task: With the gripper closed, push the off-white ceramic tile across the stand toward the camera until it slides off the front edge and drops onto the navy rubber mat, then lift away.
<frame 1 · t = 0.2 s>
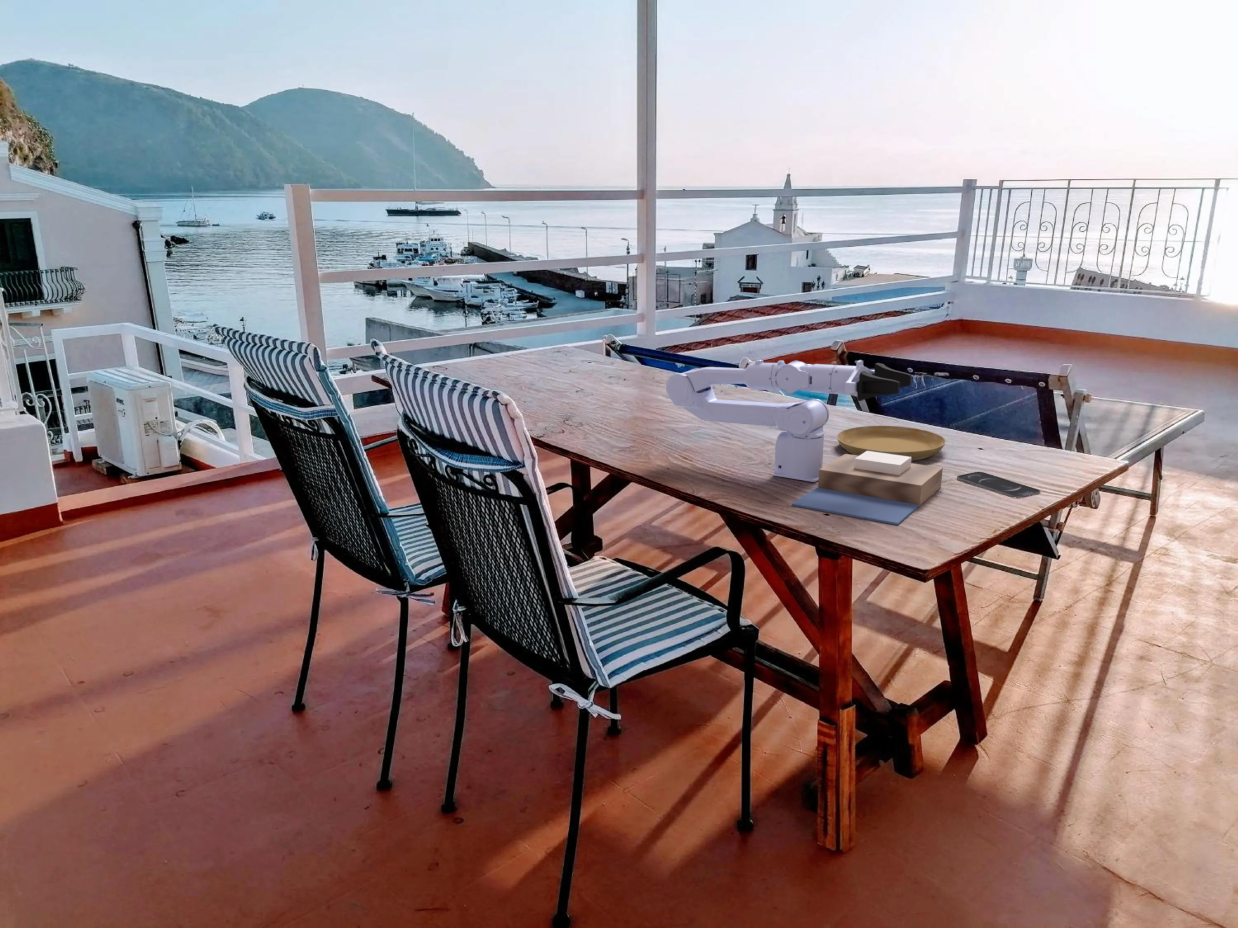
hand: (905, 383, 160), 21 cm above the table, tool horizontal, fingers open, 7 cm apart
smartphone: (996, 488, 168), on the table
stand: (879, 487, 167), on the table
plant saucer: (889, 451, 195), on the table
mat: (854, 506, 157), on the table
tile: (882, 467, 167), point 4 cm above the table, touching stand
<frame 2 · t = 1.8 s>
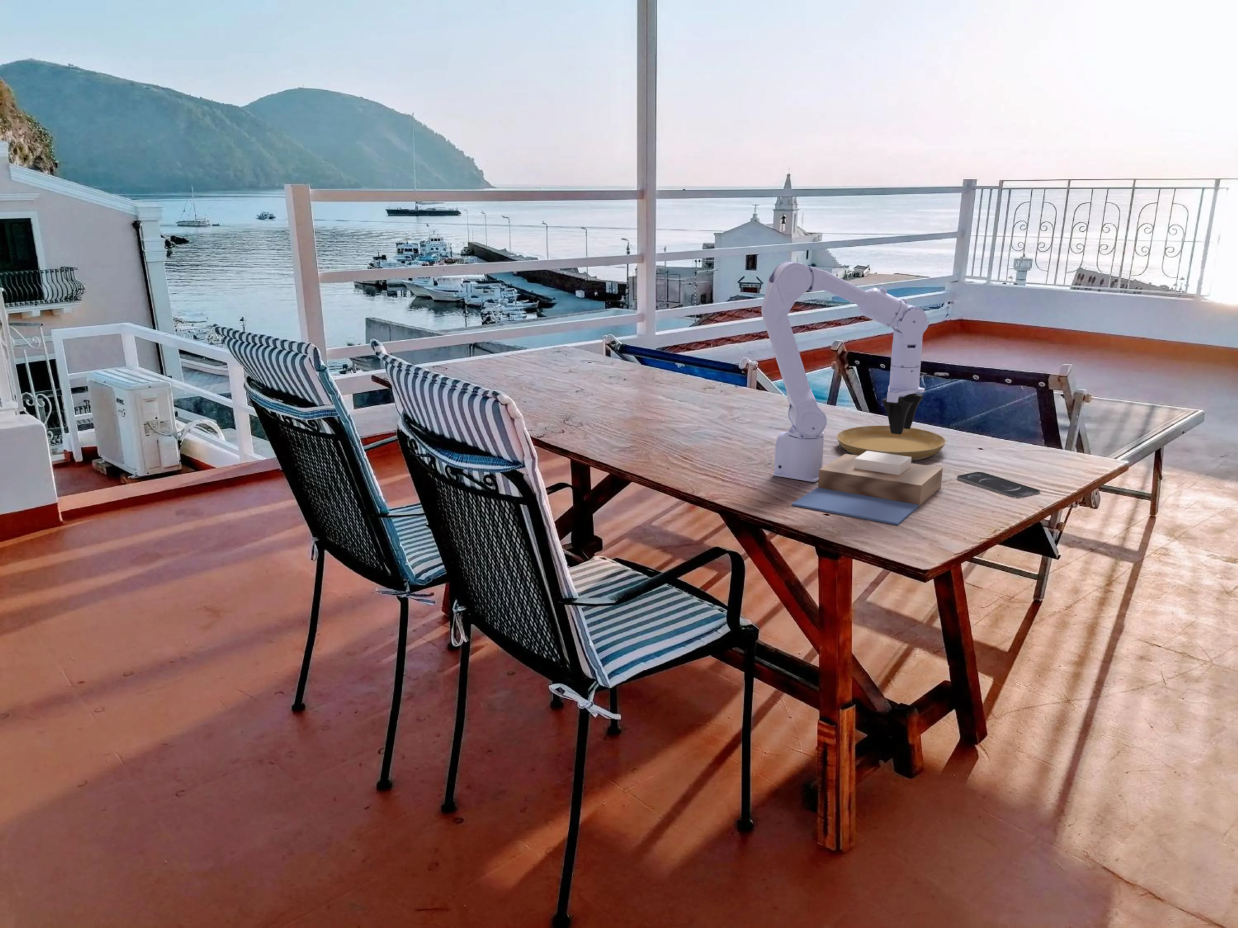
hand: (900, 431, 173), 9 cm above the table, tool pointing down, fingers open, 5 cm apart
nothing on the table moved.
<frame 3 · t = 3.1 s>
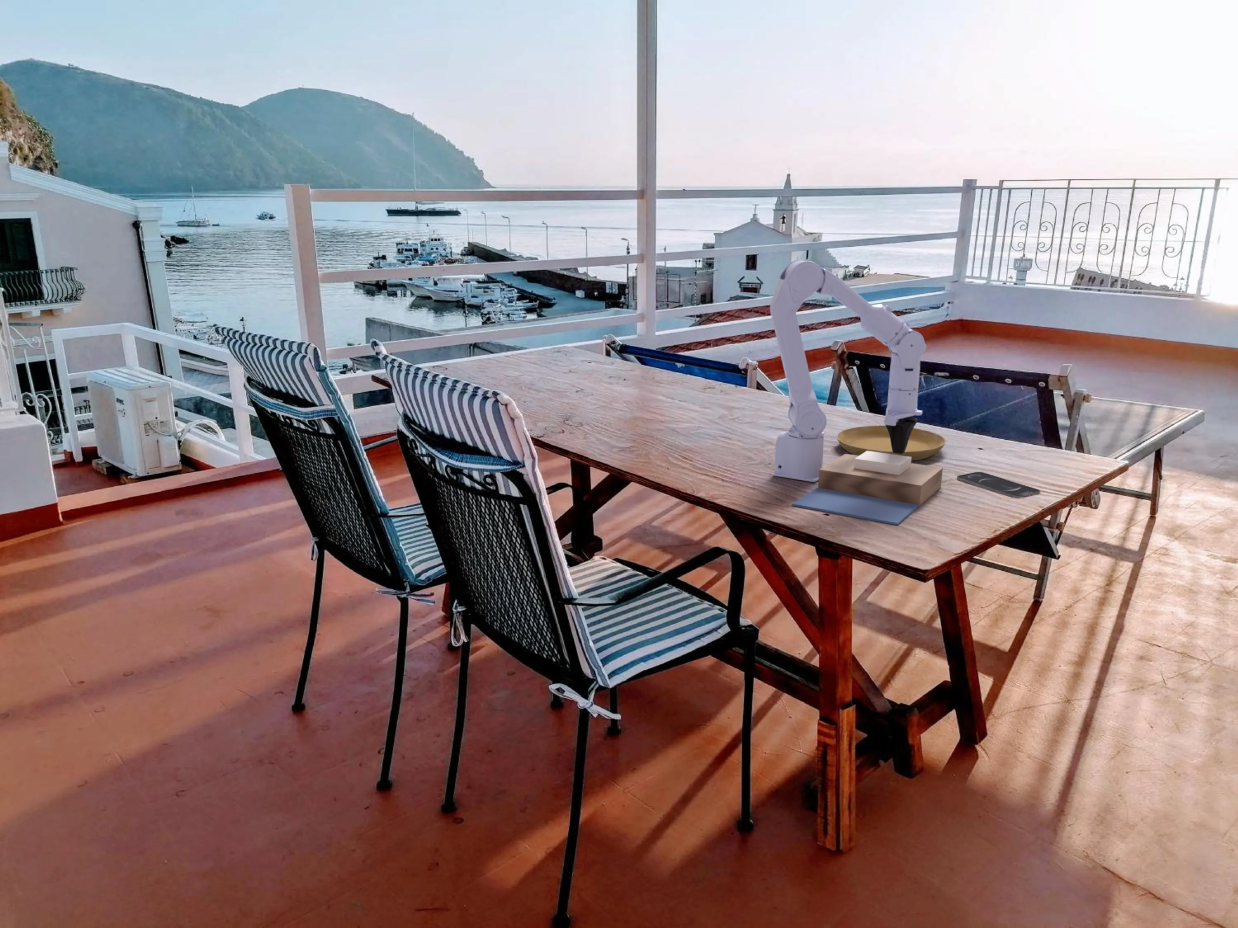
hand: (898, 452, 174), 5 cm above the table, tool pointing down, fingers closed
nothing on the table moved.
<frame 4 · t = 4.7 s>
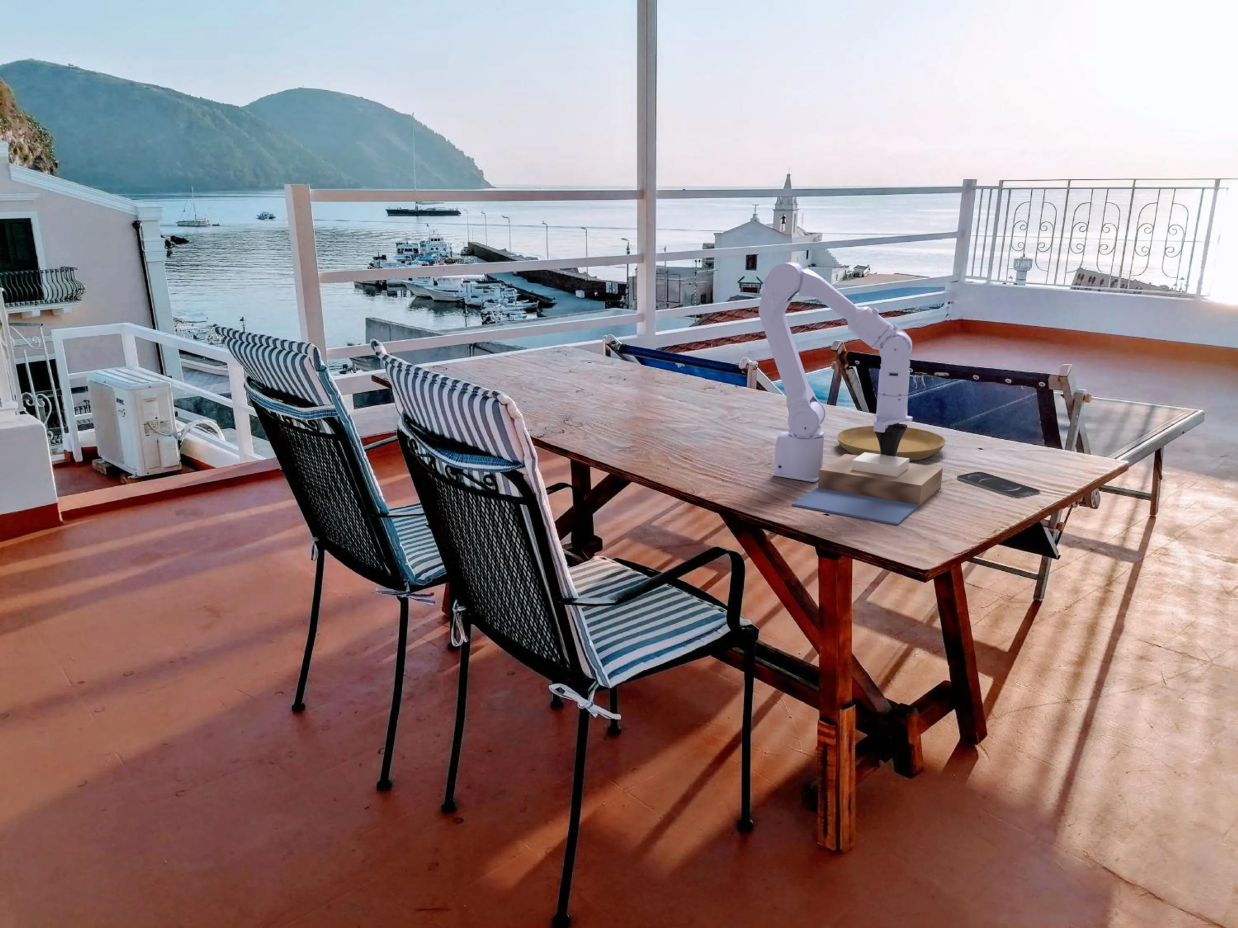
hand: (888, 459, 169), 5 cm above the table, tool pointing down, fingers closed
tile: (880, 468, 166), point 4 cm above the table, touching gripper, stand
everything else where it was.
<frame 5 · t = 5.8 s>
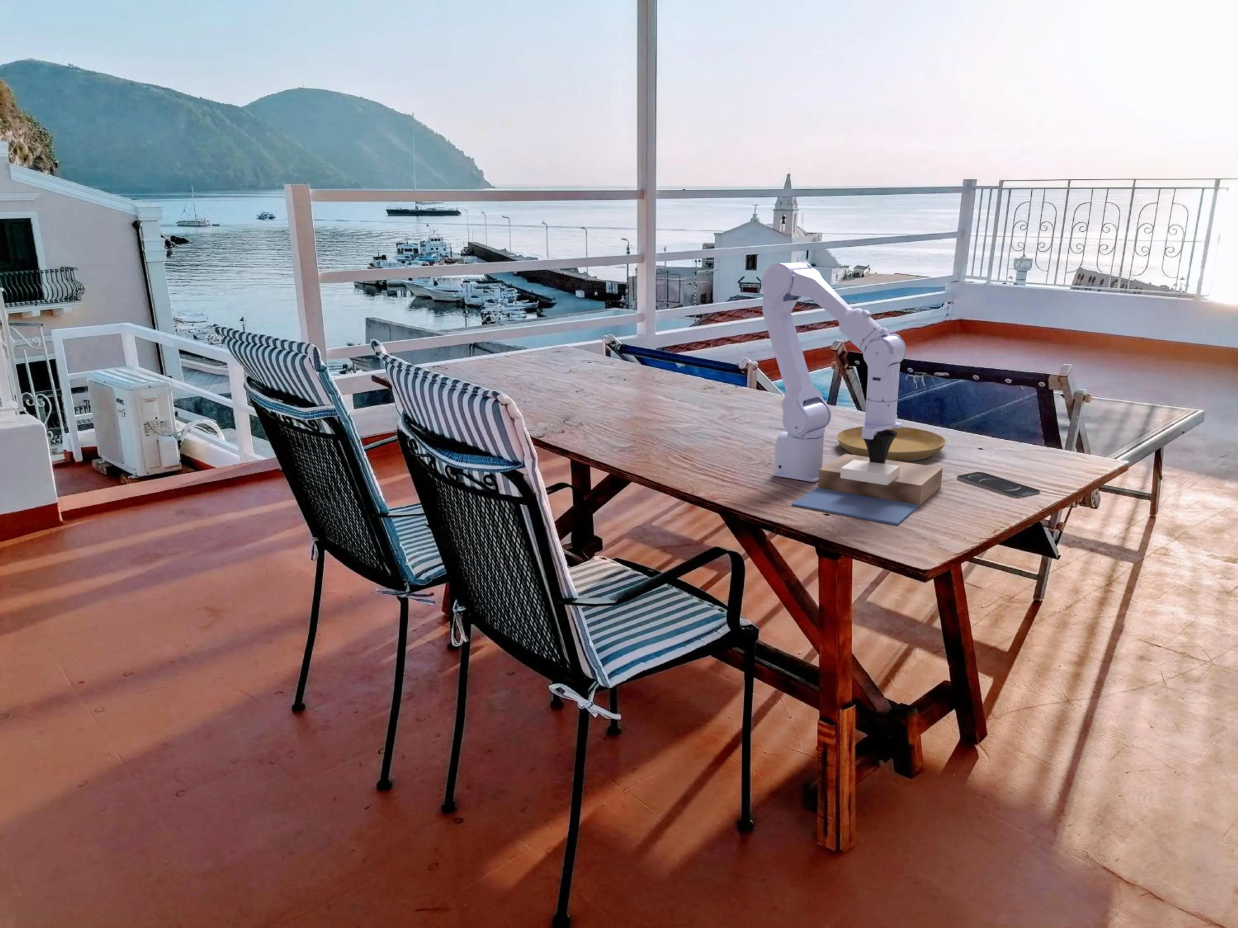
hand: (877, 467, 164), 5 cm above the table, tool pointing down, fingers closed
tile: (869, 477, 161), point 4 cm above the table, touching gripper
everything else where it was.
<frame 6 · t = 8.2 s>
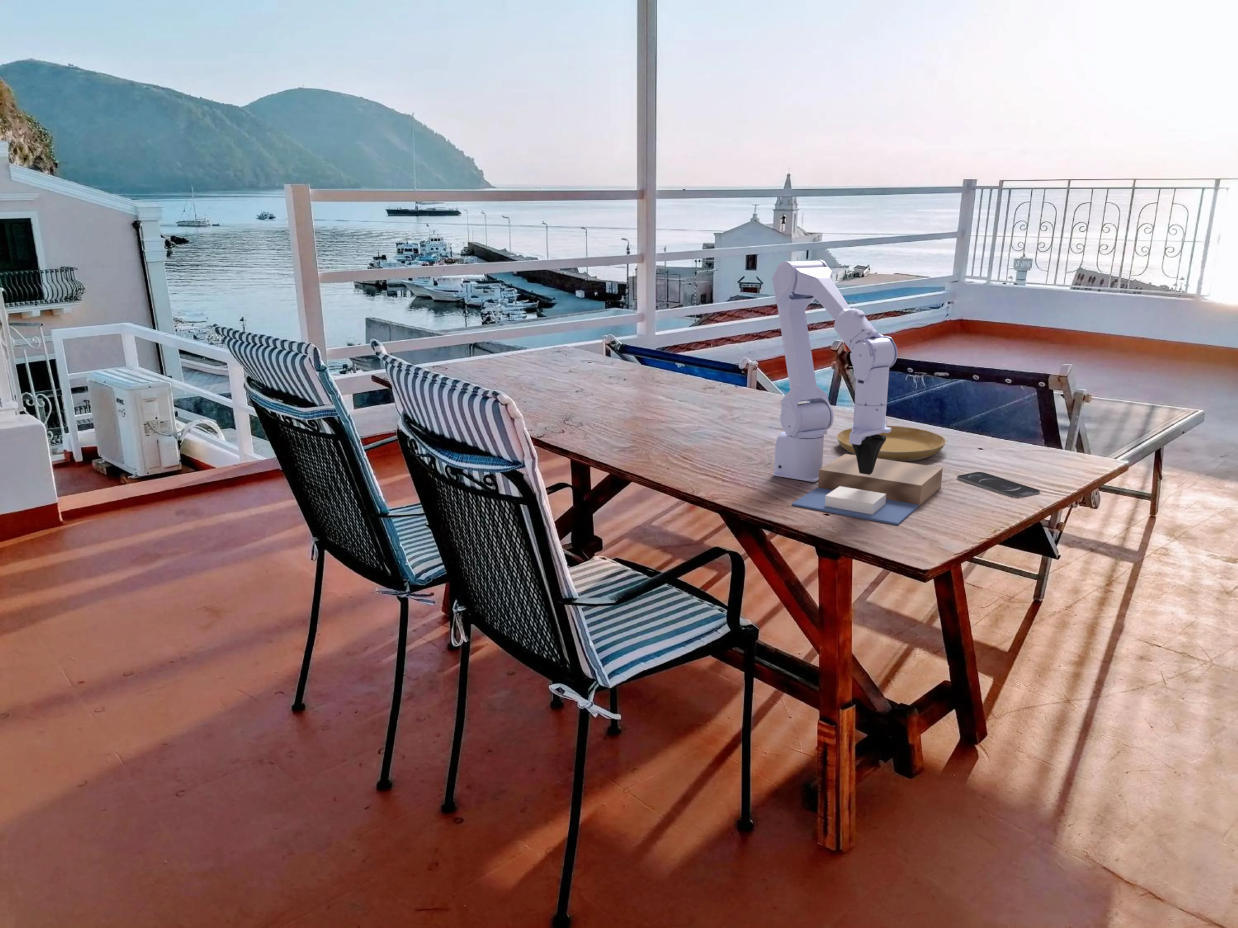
hand: (865, 473, 159), 5 cm above the table, tool pointing down, fingers closed
tile: (855, 494, 156), point 2 cm above the table, tilted 180°, touching mat
everything else where it was.
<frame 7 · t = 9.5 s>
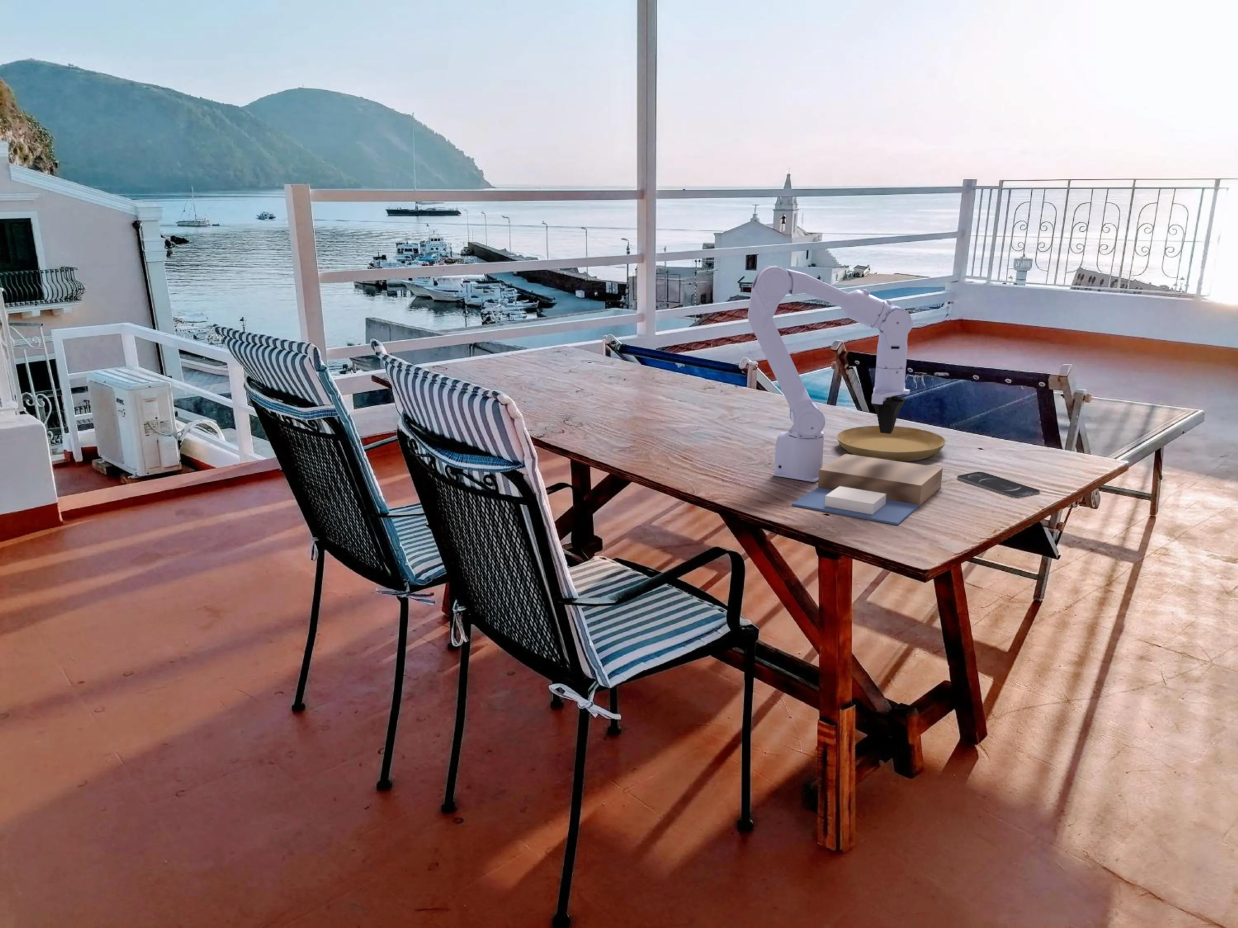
hand: (886, 432, 172), 9 cm above the table, tool pointing down, fingers closed
nothing on the table moved.
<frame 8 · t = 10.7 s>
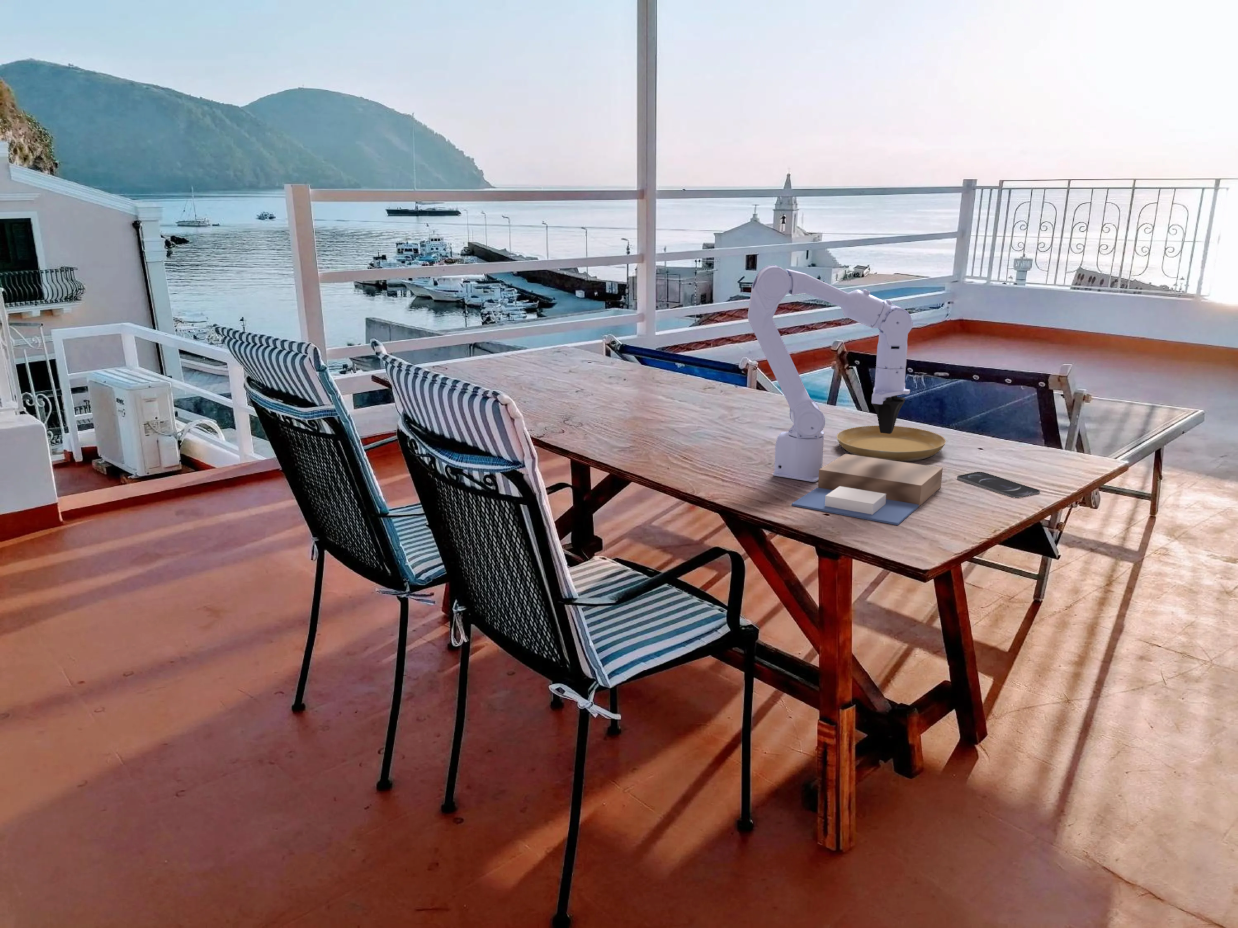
hand: (886, 432, 172), 9 cm above the table, tool pointing down, fingers closed
nothing on the table moved.
at the end: tile point 2.4 cm above the table; tile inside the target area on the mat (0.5 cm from its centre), point 2.4 cm above the mat's base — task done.
